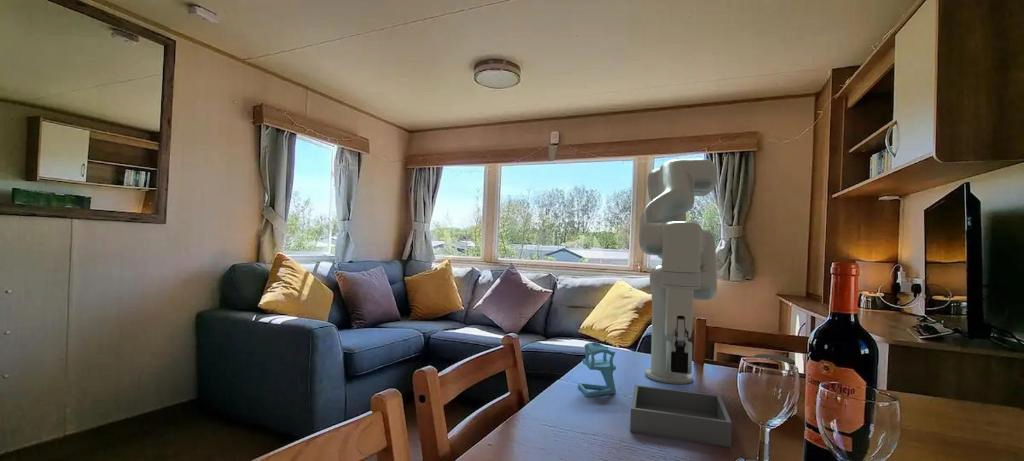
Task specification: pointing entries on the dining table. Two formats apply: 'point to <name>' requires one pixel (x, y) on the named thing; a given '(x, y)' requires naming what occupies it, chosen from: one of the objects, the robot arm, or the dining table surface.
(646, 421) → the bin
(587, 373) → the dining table surface
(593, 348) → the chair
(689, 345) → the pale green capsule
